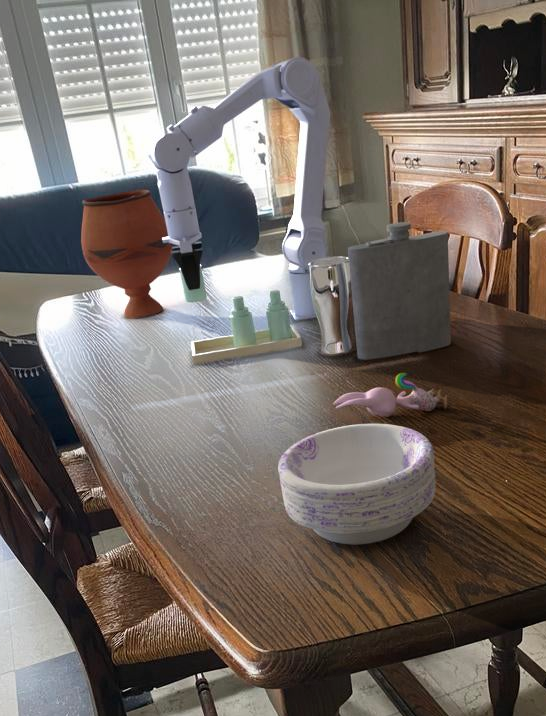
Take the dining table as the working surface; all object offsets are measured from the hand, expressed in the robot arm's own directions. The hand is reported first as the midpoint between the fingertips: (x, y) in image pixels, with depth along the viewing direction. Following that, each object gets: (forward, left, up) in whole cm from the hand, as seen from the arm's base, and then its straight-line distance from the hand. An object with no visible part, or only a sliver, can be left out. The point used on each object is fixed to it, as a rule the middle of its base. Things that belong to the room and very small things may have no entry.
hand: (194, 286), depth 140 cm
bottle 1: (-7, +12, -10) cm, 17 cm away
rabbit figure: (-23, +53, -10) cm, 59 cm away
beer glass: (-22, +22, -10) cm, 33 cm away
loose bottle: (0, 0, -2) cm, 2 cm away
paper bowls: (-13, +79, -10) cm, 81 cm away
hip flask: (-32, +28, -10) cm, 44 cm away
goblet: (+13, -30, -10) cm, 34 cm away
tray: (-7, +12, -10) cm, 17 cm away
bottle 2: (-14, +12, -10) cm, 21 cm away
